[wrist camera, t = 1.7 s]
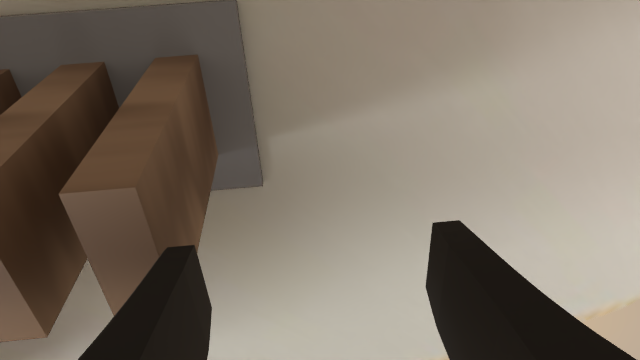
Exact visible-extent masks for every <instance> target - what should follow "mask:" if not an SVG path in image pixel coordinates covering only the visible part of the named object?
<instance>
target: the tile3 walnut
mask: <svg viewBox="0 0 640 360" xmlns="http://www.w3.org/2000/svg"><path fill="white" fill-rule="evenodd" d="M20 98H22V97H21V95H20V92H19V90H18V88H17V86H16V83H15V81H14V79H13V77H12V74H11V72H10V70H9V69H2V70H0V115H1V114H2V113H3V112H5V111H6V110H7V109H8V108H9V107H11V106H12V105H13V104H14V103H15V102H17V101H18V100H19V99H20Z"/></svg>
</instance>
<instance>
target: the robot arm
mask: <svg viewBox="0 0 640 360" xmlns="http://www.w3.org/2000/svg"><path fill="white" fill-rule="evenodd" d="M426 290H427V293H428V297H429V301H430V305H431V309H432V312H433V316H434V319H435V323H436V326H437V329H438V332H439V334H440V337H441V339H442V342H443V344H444V347H445V349H446V352H447V354H448V357H449V359H450V360H636V359H635V358H633V357H631V356H630V355H629V354H627V353H626V352H624V351H623V350H621V349H620V348H618V347H617V346H615V345H614V344H612V343H611V342H609V341H608V340H606V339H604V338H603V337H601V336H600V335H599V334H597V333H596V332H594V331H593V330H591V329H590V328H589V327H587V326H586V325H584V324H583V323H582V322H580V321H579V320H577V319H576V318H575V317H573V316H572V315H571V314H570V313H568V312H567V311H566V310H564V309H563V308H562V307H560V306H559V305H558V304H556V303H555V302H554V301H552V300H551V299H550V298H548V297H547V296H546V295H545V294H543V293H542V292H541V291H540V290H538V289H537V288H536V287H535V286H534V285H532V284H531V283H530V282H529V281H528V280H526V279H525V278H524V277H523V276H522V275H520V274H519V273H518V272H517V271H516V270H514V269H513V268H512V267H511V266H510V265H509V264H508V263H506V262H505V261H504V260H503V259H502V258H501V257H500V256H499V255H497V254H496V253H495V252H494V251H493V250H492V249H491V248H490V247H488V246H487V245H486V244H485V243H484V242H483V241H482V240H481V239H480V238H478V237H477V236H476V235H475V234H474V233H473V232H472V231H471V230H470V229H468V228H467V227H466V226H465V225H464V224H463V223H462V222H461V221H459V220H458V221H447V222H436V223H433V225H432V234H431V243H430V252H429V262H428V271H427V280H426ZM211 311H212V307H211V303H210V299H209V296H208V292H207V288H206V285H205V281H204V277H203V274H202V270H201V266H200V263H199V259H198V255H197V252H196V248H195V245H187V246H176V247H167V248H166V249H165V250H164V251H163V253H162V254H161V255H160V257H159V258H158V259H157V261H156V262H155V263H154V265H153V266H152V267H151V269H150V270H149V271H148V273H147V274H146V276H145V277H144V278H143V280H142V281H141V282H140V284H139V285H138V286H137V288H136V289H135V290H134V292H133V293H132V294H131V296H130V297H129V298H128V299H127V301H126V302H125V303H124V304H123V306H122V307H121V308H120V310H119V311H118V312H117V313H116V315H115V316H114V317H113V318H112V320H111V321H110V322H109V323H108V325H107V326H106V327H105V328H104V330H103V331H102V332H101V333H100V334H99V336H98V337H97V338H96V339H95V340H94V341H93V343H92V344H91V345H90V346H89V347H88V348H87V350H86V351H85V352H84V353H83V354H82V355H81V356H80V358H79V359H78V360H207V356H208V351H209V339H210V326H211Z"/></svg>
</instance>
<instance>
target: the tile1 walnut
mask: <svg viewBox="0 0 640 360" xmlns="http://www.w3.org/2000/svg"><path fill="white" fill-rule="evenodd" d="M217 159H218V151H217V146H216V141H215V136H214V131H213V126H212V121H211V116H210V111H209V106H208V102H207V97H206V92H205V87H204V82H203V77H202V72H201V67H200V62H199V57H198V55H185V56H172V57H159V58H155V59H154V60H153V62H152V63H151V65H150V66H149V67H148V69H147V70H146V72H145V73H144V74H143V76H142V77H141V79H140V80H139V81H138V83H137V84H136V86H135V87H134V88H133V90H132V91H131V93H130V94H129V95H128V97H127V98H126V100H125V101H124V102H123V104H122V105H121V107H120V108H119V110H118V111H117V112H116V114H115V115H114V117H113V118H112V119H111V121H110V122H109V124H108V125H107V126H106V128H105V129H104V131H103V132H102V133H101V135H100V136H99V138H98V139H97V140H96V142H95V143H94V145H93V146H92V148H91V149H90V150H89V152H88V153H87V155H86V156H85V157H84V159H83V160H82V162H81V163H80V164H79V166H78V167H77V169H76V170H75V171H74V173H73V174H72V176H71V177H70V178H69V180H68V181H67V183H66V184H65V185H64V187H63V188H62V190H61V191H60V193H59V196H60V199H61V201H62V203H63V205H64V207H65V210H66V212H67V214H68V216H69V218H70V220H71V223H72V225H73V227H74V229H75V231H76V234H77V236H78V238H79V240H80V242H81V245H82V247H83V249H84V251H85V253H86V256H87V258H88V260H89V262H90V264H91V267H92V269H93V271H94V273H95V275H96V278H97V280H98V282H99V284H100V286H101V289H102V291H103V293H104V295H105V297H106V300H107V302H108V304H109V306H110V308H111V310H112V313H113V315H114V316H115V315H116V313H117V312H118V311H119V310H120V308H121V307H122V306H123V304H124V303H125V302H126V301H127V299H128V298H129V297H130V296H131V294H132V293H133V292H134V290H135V289H136V288H137V286H138V285H139V284H140V282H141V281H142V280H143V278H144V277H145V276H146V274H147V273H148V271H149V270H150V269H151V267H152V266H153V265H154V263H155V262H156V261H157V259H158V258H159V257H160V255H161V254H162V253H163V251H164V250H165V249H166V248H167V247H176V246H187V245H195V248H196V252H197V251H198V246H199V242H200V237H201V232H202V228H203V223H204V219H205V214H206V209H207V205H208V200H209V196H210V191H211V187H212V182H213V177H214V173H215V168H216V164H217Z"/></svg>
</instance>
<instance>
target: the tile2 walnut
mask: <svg viewBox="0 0 640 360" xmlns="http://www.w3.org/2000/svg"><path fill="white" fill-rule="evenodd" d="M118 110H119V106H118V103H117V100H116V97H115V93H114V90H113V87H112V84H111V81H110V78H109V75H108V72H107V69H106V66H105V62H94V63H80V64H67V65H60V66H59V67H58V68H57V69H55V70H54V71H53V72H52V73H51V74H49V75H48V76H47V77H46V78H45V79H43V80H42V81H41V82H40V83H38V84H37V85H36V86H35V87H34V88H32V89H31V90H30V91H29V92H28V93H26V94H25V95H24V96H23V97H22V98H20V99H19V100H18V101H17V102H15V103H14V104H13V105H12V106H11V107H9V108H8V109H7V110H6V111H5V112H3V113H2V114H1V115H0V342H5V341H15V340H25V339H35V338H45V337H48V335H49V333H50V331H51V329H52V327H53V325H54V323H55V321H56V319H57V317H58V315H59V313H60V311H61V309H62V307H63V305H64V303H65V301H66V299H67V297H68V295H69V293H70V292H71V290H72V288H73V286H74V284H75V282H76V280H77V278H78V276H79V274H80V272H81V270H82V268H83V266H84V264H85V262H86V260H87V256H86V253H85V251H84V249H83V247H82V245H81V242H80V240H79V238H78V236H77V234H76V231H75V229H74V227H73V225H72V223H71V220H70V218H69V216H68V214H67V212H66V210H65V207H64V205H63V203H62V201H61V199H60V196H59V193H60V191H61V190H62V188H63V187H64V185H65V184H66V183H67V181H68V180H69V178H70V177H71V176H72V174H73V173H74V171H75V170H76V169H77V167H78V166H79V164H80V163H81V162H82V160H83V159H84V157H85V156H86V155H87V153H88V152H89V150H90V149H91V148H92V146H93V145H94V143H95V142H96V140H97V139H98V138H99V136H100V135H101V133H102V132H103V131H104V129H105V128H106V126H107V125H108V124H109V122H110V121H111V119H112V118H113V117H114V115H115V114H116V112H117V111H118Z"/></svg>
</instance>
